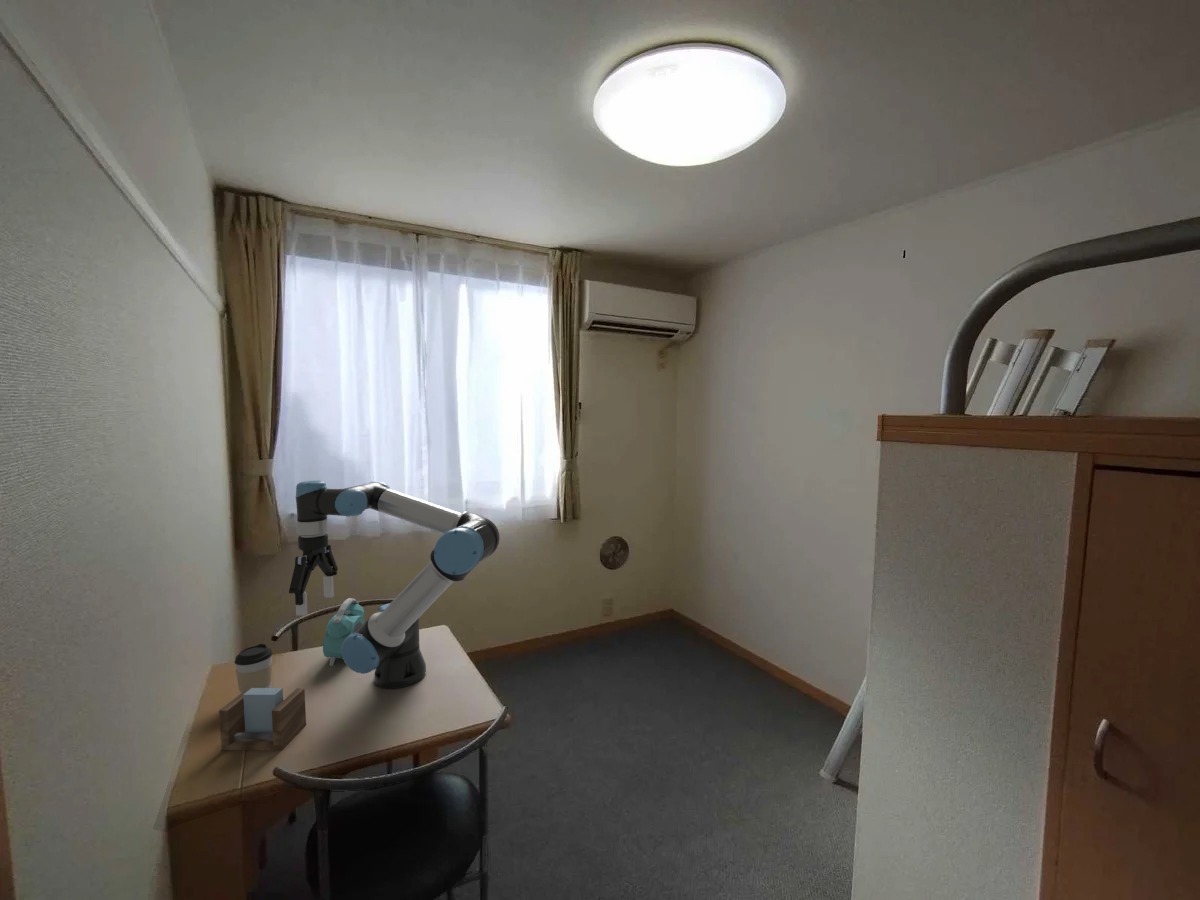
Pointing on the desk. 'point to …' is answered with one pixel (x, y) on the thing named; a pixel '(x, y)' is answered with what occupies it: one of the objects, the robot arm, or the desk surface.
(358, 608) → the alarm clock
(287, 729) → the frame
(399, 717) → the desk surface
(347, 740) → the desk surface
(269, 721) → the door panel
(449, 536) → the robot arm
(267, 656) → the coffee cup
